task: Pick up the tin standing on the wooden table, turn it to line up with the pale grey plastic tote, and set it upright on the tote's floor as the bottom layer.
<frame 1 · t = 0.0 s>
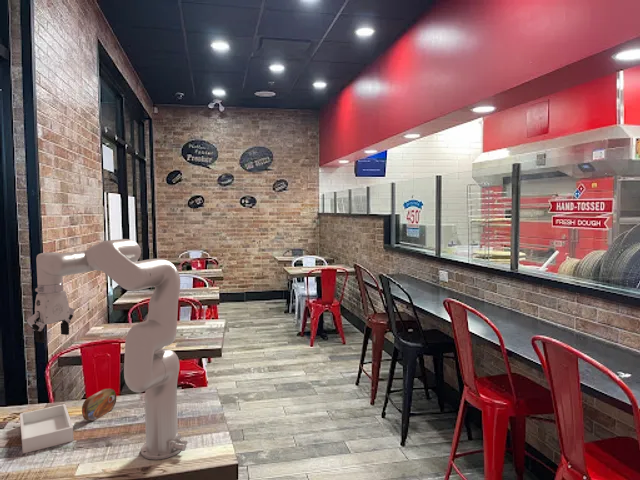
hand: (52, 338, 160), 31 cm above the table, tool pointing down, fingers open, 9 cm apart
tin: (99, 415, 171), on the table
tote: (46, 433, 157), on the table
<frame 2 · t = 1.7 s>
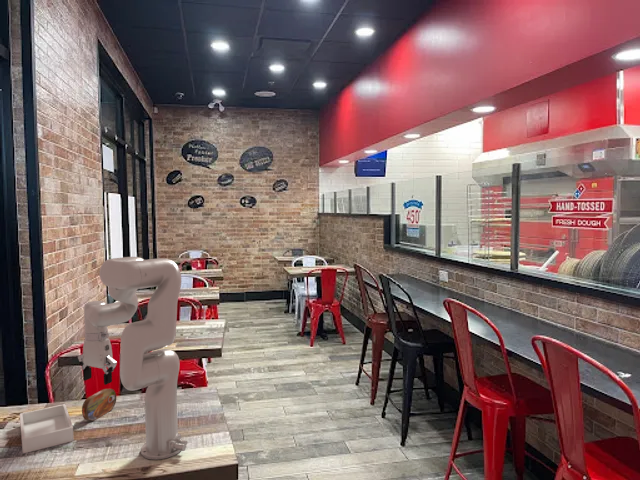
hand: (97, 381, 170), 12 cm above the table, tool pointing down, fingers open, 9 cm apart
nothing on the table moved.
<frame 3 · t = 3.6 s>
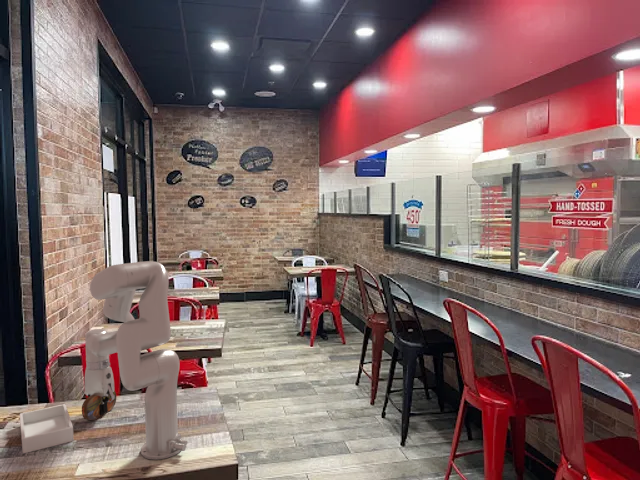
hand: (99, 412, 171), 1 cm above the table, tool pointing down, fingers closed on tin, 2 cm apart
tin: (99, 415, 171), on the table, touching gripper
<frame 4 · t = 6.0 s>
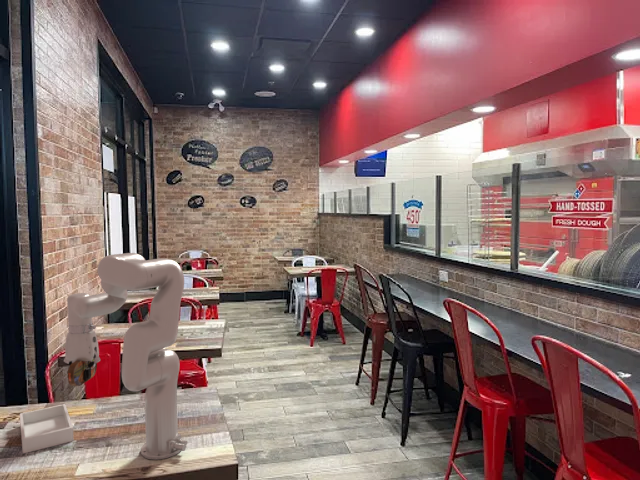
hand: (82, 379, 166), 15 cm above the table, tool pointing down, fingers closed on tin, 2 cm apart
tin: (82, 382, 166), point 14 cm above the table, touching gripper
when the fingers open (2 cm above the table, at t = 8.7 s): tin stays where it is, resting on tote.
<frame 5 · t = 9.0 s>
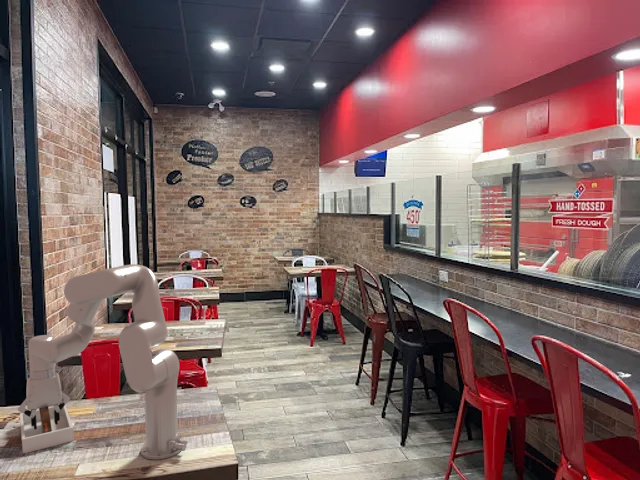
hand: (45, 424, 157), 3 cm above the table, tool pointing down, fingers open, 5 cm apart
tin: (45, 431, 157), point 1 cm above the table, touching tote
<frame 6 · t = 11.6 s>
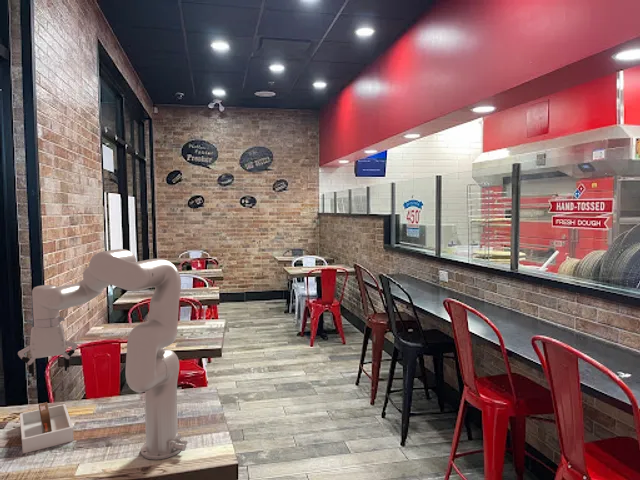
hand: (49, 372, 157), 21 cm above the table, tool pointing down, fingers open, 9 cm apart
nothing on the table moved.
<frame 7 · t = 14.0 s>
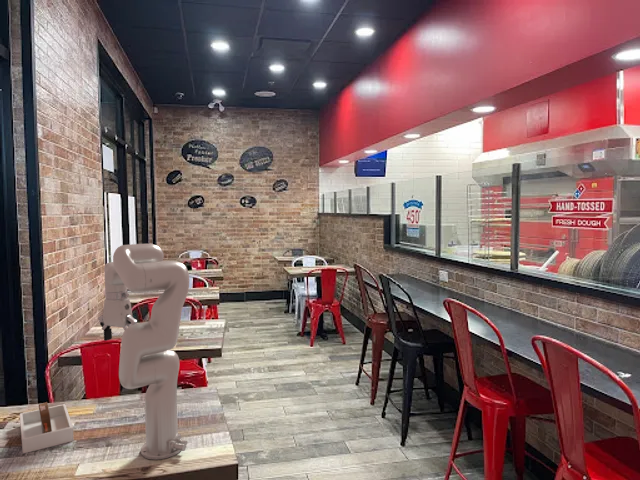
hand: (118, 341, 173), 26 cm above the table, tool pointing down, fingers open, 9 cm apart
nothing on the table moved.
at the end: tin inside the target area on the tote (0.1 cm from its centre), point 0.6 cm above the tote's base; tin tilted 0°; the gripper is holding nothing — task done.
